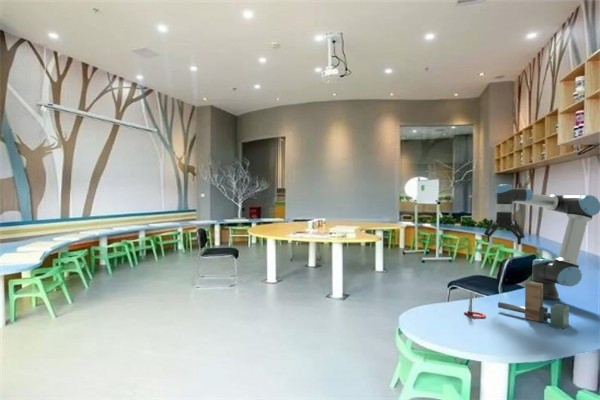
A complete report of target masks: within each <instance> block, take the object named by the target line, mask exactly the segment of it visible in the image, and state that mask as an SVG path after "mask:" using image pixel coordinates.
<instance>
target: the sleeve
mask: <svg viewBox="0 0 600 400" xmlns="http://www.w3.org/2000/svg"><path fill="white" fill-rule="evenodd" d="M524 285H525V286H524V287H525V288H524V290H525V292H524V307H525V313H524V319H527V320H532V321H535V322H539V309H540V308H542V307H544V299H543V284H542V283H536V282H532V281H528V282H525V284H524Z"/></svg>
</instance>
